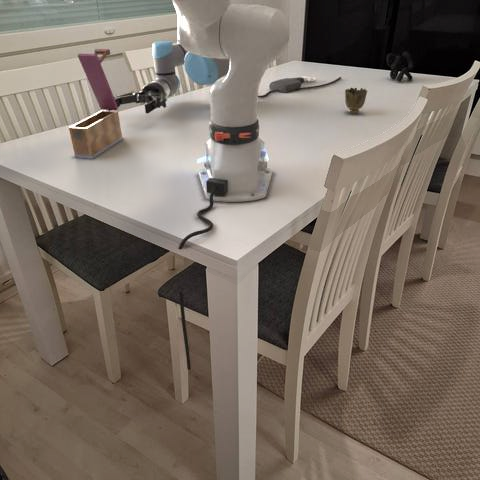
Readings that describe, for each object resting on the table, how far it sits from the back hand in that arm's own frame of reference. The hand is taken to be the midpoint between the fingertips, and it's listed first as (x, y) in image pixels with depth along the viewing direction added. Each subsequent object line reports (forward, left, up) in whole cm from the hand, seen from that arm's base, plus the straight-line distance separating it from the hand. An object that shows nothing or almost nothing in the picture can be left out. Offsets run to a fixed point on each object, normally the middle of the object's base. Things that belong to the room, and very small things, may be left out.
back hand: (127, 108), depth 145 cm
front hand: (+14, +6, +32) cm, 35 cm away
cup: (-61, +49, -7) cm, 78 cm away
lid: (+12, +6, +11) cm, 17 cm away
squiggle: (-119, +40, -7) cm, 126 cm away
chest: (+17, +8, -7) cm, 20 cm away
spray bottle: (-81, +9, -7) cm, 82 cm away
